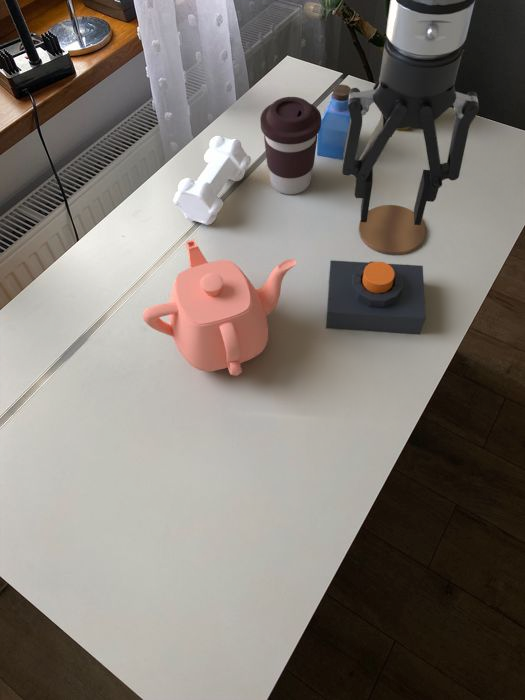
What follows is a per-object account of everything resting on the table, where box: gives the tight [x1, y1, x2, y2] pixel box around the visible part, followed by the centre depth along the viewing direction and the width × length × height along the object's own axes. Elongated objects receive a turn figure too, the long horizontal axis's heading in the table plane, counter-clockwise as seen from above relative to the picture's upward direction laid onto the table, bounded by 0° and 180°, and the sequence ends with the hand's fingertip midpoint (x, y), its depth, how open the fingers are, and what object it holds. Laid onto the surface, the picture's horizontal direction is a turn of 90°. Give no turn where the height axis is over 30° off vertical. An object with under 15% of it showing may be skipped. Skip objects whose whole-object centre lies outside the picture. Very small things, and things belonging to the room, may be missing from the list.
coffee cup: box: [259, 96, 322, 195], centre depth 103 cm, size 10×10×15 cm
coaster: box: [358, 204, 427, 256], centre depth 101 cm, size 11×11×1 cm
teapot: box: [142, 239, 297, 376], centre depth 85 cm, size 16×17×14 cm
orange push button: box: [362, 261, 395, 294], centre depth 87 cm, size 4×4×2 cm
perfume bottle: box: [316, 84, 352, 161], centre depth 109 cm, size 6×6×12 cm
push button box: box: [325, 259, 426, 336], centre depth 90 cm, size 14×10×6 cm
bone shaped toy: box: [173, 135, 252, 226], centre depth 104 cm, size 15×9×8 cm, turn 156°
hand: (390, 215), depth 77 cm, fingers open, 6 cm apart
